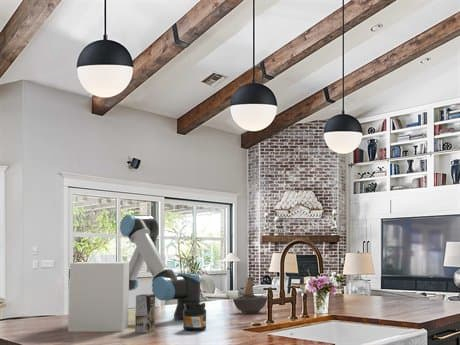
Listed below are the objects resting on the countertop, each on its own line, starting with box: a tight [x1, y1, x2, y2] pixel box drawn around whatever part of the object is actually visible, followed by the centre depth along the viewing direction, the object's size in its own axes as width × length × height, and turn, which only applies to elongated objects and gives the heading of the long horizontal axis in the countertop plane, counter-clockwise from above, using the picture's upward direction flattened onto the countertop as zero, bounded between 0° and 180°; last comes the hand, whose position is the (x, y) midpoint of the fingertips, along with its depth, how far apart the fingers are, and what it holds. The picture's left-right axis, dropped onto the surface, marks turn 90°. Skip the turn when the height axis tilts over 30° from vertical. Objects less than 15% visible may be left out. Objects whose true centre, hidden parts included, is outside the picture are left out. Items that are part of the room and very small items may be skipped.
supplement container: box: [182, 301, 207, 332], centre depth 283 cm, size 10×10×12 cm
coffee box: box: [134, 293, 156, 334], centre depth 278 cm, size 9×6×16 cm
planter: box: [232, 276, 268, 314], centre depth 352 cm, size 15×17×20 cm
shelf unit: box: [67, 261, 130, 333], centre depth 289 cm, size 24×21×30 cm
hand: (108, 271), depth 315 cm, fingers closed on slate carton, 4 cm apart
